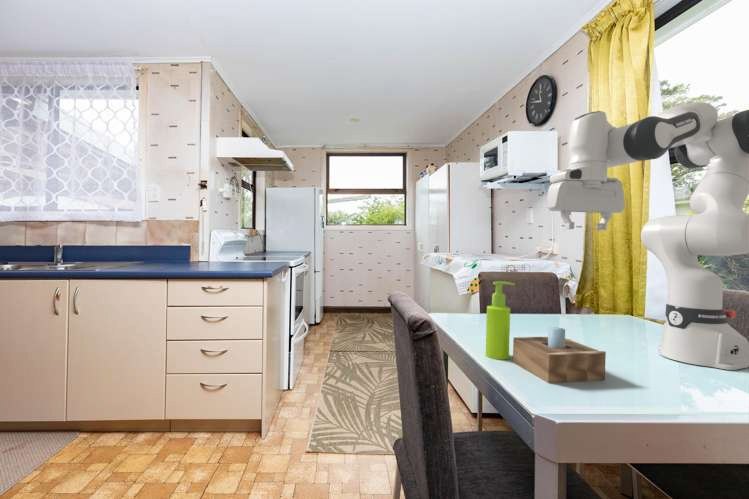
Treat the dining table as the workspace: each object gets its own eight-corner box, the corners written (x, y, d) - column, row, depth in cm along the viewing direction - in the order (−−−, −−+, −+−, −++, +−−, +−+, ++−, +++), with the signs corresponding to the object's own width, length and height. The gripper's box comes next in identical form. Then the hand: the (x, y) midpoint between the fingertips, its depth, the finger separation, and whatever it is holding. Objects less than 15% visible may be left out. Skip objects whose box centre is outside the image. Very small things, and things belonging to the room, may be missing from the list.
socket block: (562, 360, 95) (562, 336, 95) (604, 380, 81) (605, 351, 81) (512, 362, 93) (513, 337, 93) (548, 382, 79) (549, 353, 79)
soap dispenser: (514, 360, 94) (516, 283, 94) (486, 358, 95) (488, 282, 95) (511, 354, 100) (512, 281, 99) (484, 352, 101) (486, 280, 101)
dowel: (557, 367, 89) (558, 327, 89) (567, 373, 86) (568, 330, 85) (544, 368, 88) (545, 327, 88) (553, 373, 85) (554, 330, 85)
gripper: (612, 180, 99) (610, 231, 100) (544, 176, 96) (542, 229, 96) (632, 176, 93) (630, 230, 93) (560, 171, 90) (558, 228, 90)
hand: (585, 229), depth 95 cm, fingers open, 8 cm apart
